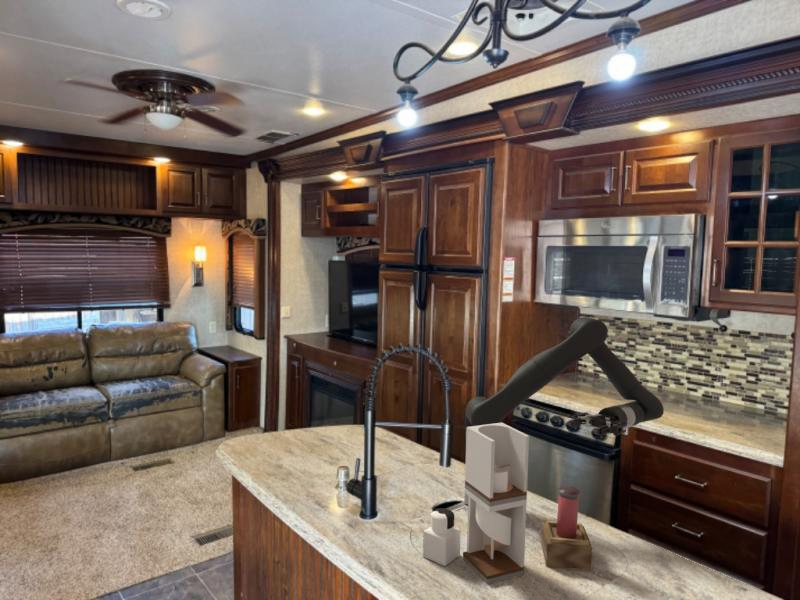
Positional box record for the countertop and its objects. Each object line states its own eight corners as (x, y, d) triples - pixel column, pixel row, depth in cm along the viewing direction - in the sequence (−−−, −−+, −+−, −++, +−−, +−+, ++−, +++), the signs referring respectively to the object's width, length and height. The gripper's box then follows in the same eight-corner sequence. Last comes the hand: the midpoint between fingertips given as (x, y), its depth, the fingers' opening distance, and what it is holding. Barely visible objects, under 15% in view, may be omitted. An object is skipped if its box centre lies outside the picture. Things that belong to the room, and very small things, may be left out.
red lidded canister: (557, 538, 142) (560, 493, 141) (554, 528, 147) (557, 485, 146) (578, 540, 142) (581, 495, 140) (574, 529, 147) (577, 486, 146)
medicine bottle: (438, 546, 149) (439, 502, 148) (460, 555, 145) (461, 511, 144) (422, 556, 144) (423, 512, 143) (445, 567, 139) (446, 521, 138)
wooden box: (546, 566, 140) (547, 539, 140) (541, 544, 151) (542, 519, 151) (591, 570, 139) (592, 543, 138) (582, 547, 150) (583, 522, 149)
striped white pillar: (462, 559, 143) (466, 427, 140) (497, 551, 147) (502, 422, 144) (487, 584, 132) (491, 441, 129) (523, 574, 137) (529, 435, 134)
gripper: (596, 400, 172) (564, 408, 162) (639, 411, 161) (608, 421, 151) (595, 424, 173) (563, 433, 163) (638, 436, 162) (606, 447, 152)
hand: (584, 427), depth 157 cm, fingers open, 8 cm apart
